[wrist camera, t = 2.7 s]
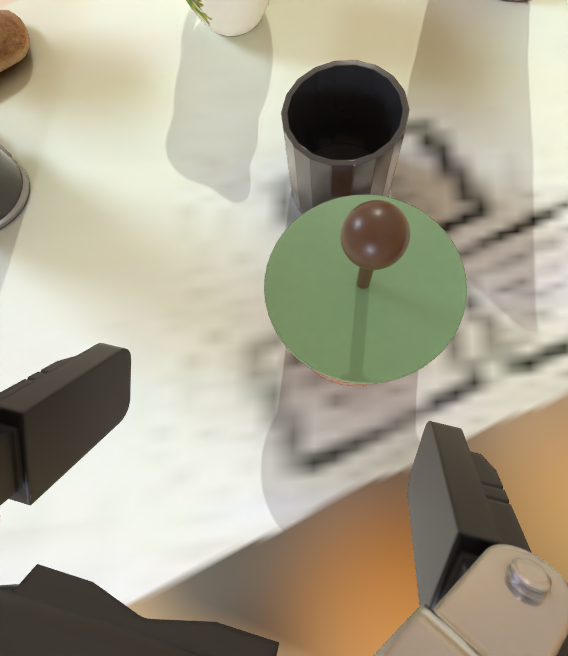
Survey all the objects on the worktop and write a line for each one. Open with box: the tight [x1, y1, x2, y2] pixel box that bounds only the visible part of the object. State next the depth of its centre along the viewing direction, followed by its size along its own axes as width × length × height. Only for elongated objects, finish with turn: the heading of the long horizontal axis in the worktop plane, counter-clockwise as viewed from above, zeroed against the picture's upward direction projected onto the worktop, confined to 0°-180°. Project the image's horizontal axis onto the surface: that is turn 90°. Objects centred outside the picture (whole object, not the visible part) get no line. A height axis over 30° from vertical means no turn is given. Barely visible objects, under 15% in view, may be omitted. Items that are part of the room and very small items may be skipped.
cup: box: [281, 60, 409, 214], centre depth 37 cm, size 10×10×10 cm
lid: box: [264, 195, 467, 384], centre depth 25 cm, size 14×14×10 cm
